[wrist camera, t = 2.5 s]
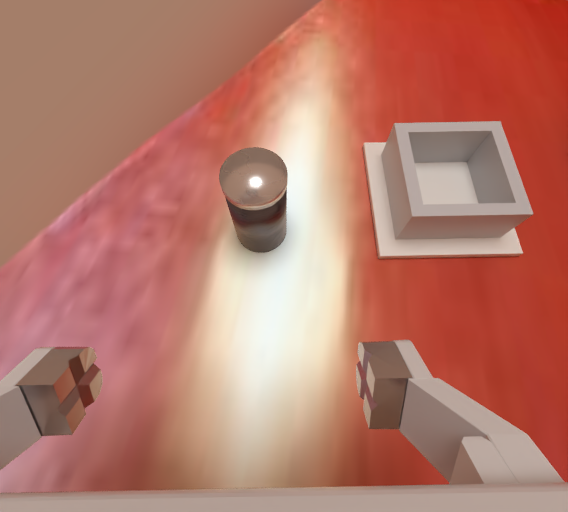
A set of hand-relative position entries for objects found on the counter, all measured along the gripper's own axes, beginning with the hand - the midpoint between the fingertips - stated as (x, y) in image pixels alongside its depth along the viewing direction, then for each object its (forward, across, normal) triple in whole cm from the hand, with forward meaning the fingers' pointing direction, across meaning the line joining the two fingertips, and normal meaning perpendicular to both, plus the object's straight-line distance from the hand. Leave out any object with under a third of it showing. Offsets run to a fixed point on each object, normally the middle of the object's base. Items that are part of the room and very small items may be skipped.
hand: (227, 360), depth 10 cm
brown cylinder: (+19, 0, +2) cm, 20 cm away
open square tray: (+22, -16, 0) cm, 27 cm away
